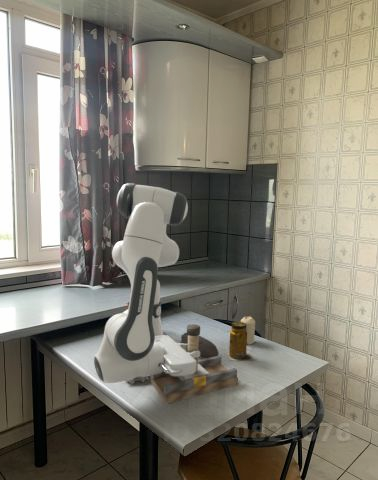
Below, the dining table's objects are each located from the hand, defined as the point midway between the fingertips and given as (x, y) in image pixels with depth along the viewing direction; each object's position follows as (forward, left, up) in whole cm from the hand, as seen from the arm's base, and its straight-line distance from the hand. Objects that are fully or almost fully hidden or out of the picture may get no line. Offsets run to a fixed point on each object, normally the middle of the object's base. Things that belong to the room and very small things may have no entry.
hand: (195, 349), depth 113 cm
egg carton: (-19, -3, -12) cm, 23 cm away
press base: (0, 0, -11) cm, 11 cm away
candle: (+6, +37, -11) cm, 40 cm away
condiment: (+7, +24, -11) cm, 28 cm away
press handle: (-1, -1, -9) cm, 9 cm away
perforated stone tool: (-6, +18, -11) cm, 22 cm away
